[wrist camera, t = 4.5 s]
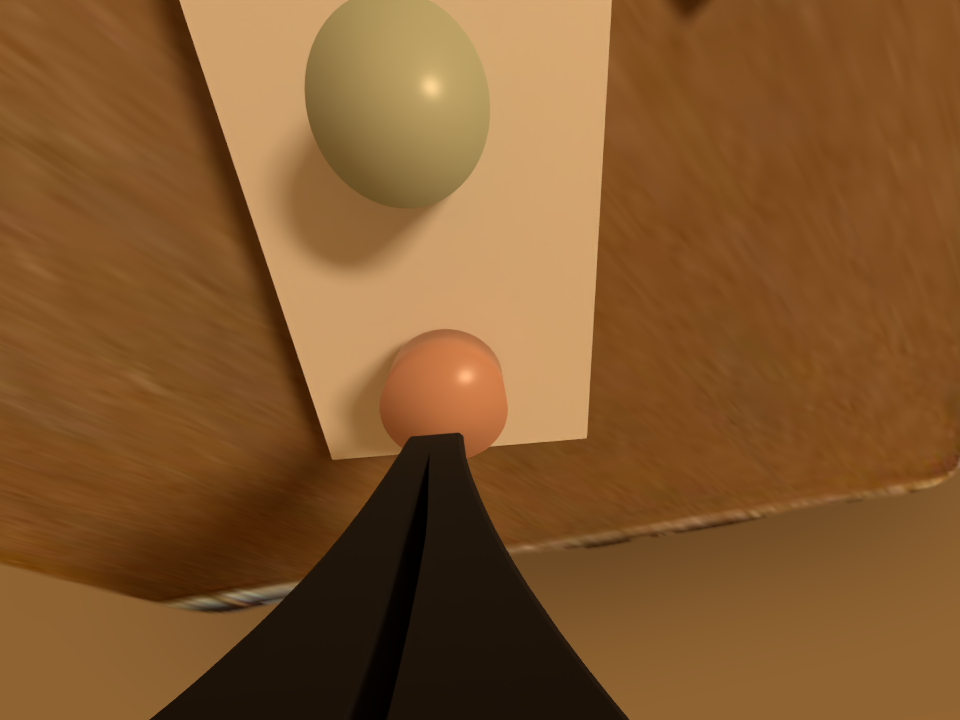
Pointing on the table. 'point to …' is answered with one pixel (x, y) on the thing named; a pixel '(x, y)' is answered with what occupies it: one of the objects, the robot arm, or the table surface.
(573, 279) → the button panel
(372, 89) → the sage button
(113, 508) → the table surface
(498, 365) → the orange rounded dome
